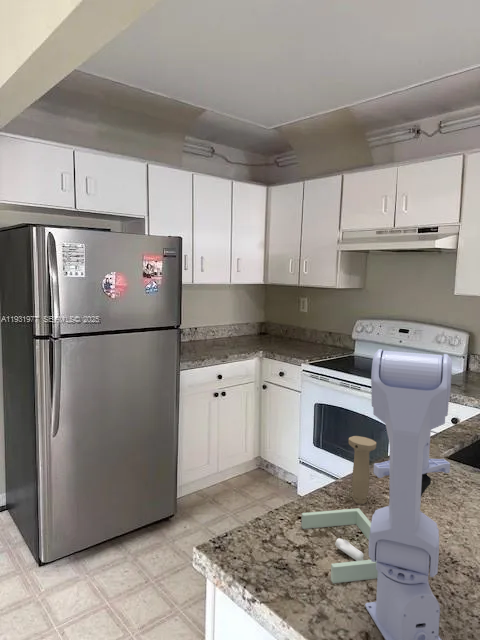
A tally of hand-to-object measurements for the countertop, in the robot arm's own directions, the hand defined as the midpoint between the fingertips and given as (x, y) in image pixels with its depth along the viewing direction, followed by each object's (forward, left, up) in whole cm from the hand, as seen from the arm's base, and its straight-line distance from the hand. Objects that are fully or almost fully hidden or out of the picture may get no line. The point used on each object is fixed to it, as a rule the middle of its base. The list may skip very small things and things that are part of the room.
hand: (409, 509), depth 86 cm
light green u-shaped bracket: (+4, +11, -9) cm, 15 cm away
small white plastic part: (+2, +11, -10) cm, 15 cm away
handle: (+21, 0, -10) cm, 23 cm away
